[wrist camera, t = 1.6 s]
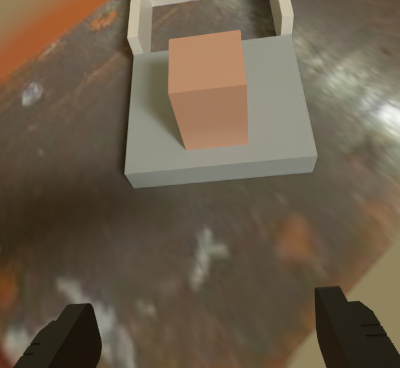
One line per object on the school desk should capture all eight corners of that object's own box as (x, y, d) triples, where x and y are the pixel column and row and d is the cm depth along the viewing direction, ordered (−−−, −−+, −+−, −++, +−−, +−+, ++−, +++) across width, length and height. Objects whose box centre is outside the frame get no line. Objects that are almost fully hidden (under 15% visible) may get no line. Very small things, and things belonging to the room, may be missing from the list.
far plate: (133, 188, 36) (124, 174, 34) (141, 73, 44) (133, 54, 41) (312, 172, 35) (317, 155, 32) (288, 55, 42) (290, 34, 39)
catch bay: (139, 71, 44) (127, 38, 40) (144, 3, 50) (133, -32, 46) (289, 51, 42) (293, 15, 38) (275, -16, 48) (277, -55, 44)
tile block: (186, 150, 34) (168, 93, 27) (185, 102, 37) (169, 39, 30) (248, 144, 34) (246, 84, 26) (242, 95, 36) (240, 29, 29)
